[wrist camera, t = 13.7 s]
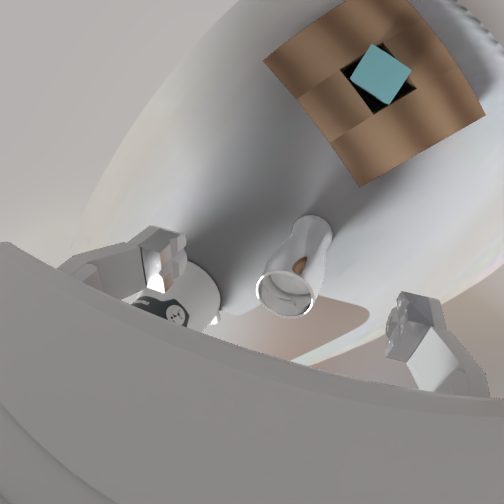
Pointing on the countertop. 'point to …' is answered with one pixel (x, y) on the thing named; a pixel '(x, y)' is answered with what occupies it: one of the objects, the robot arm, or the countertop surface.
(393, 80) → the peg
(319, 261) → the beer glass
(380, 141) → the socket block
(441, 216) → the countertop surface
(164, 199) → the countertop surface
